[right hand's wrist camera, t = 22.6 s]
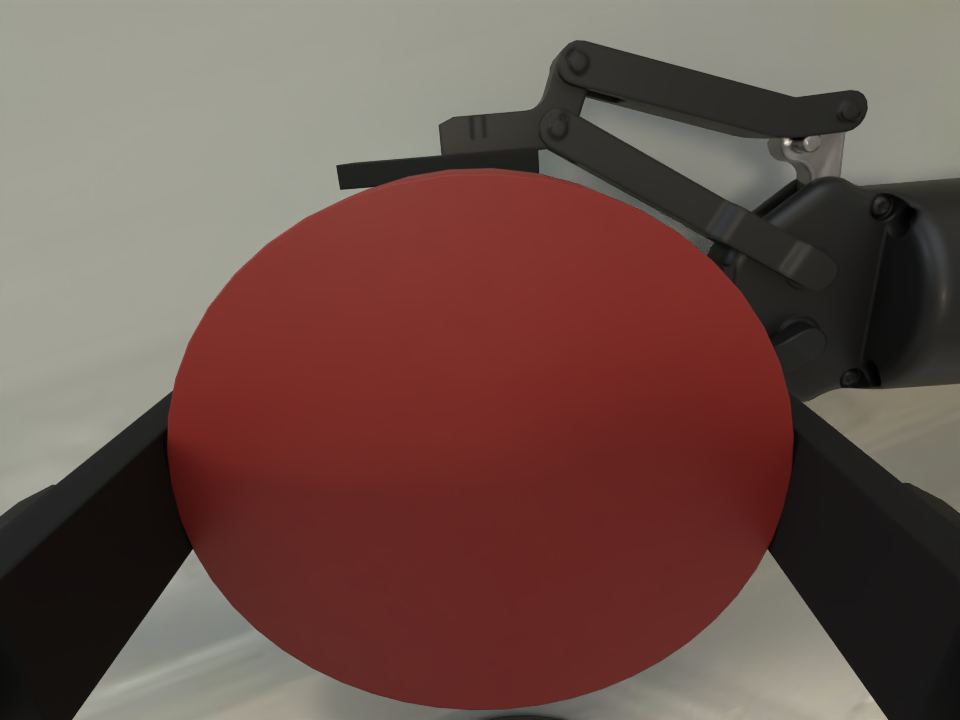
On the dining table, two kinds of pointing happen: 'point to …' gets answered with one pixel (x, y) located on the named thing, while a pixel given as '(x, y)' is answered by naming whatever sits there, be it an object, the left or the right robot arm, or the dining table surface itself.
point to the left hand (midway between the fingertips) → (371, 326)
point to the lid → (480, 440)
